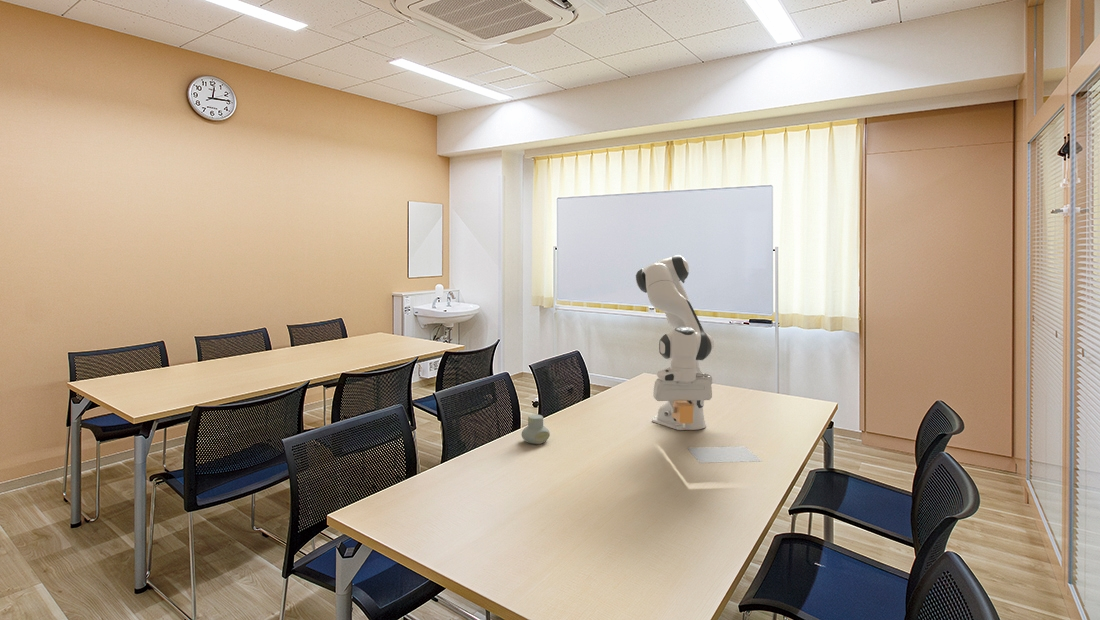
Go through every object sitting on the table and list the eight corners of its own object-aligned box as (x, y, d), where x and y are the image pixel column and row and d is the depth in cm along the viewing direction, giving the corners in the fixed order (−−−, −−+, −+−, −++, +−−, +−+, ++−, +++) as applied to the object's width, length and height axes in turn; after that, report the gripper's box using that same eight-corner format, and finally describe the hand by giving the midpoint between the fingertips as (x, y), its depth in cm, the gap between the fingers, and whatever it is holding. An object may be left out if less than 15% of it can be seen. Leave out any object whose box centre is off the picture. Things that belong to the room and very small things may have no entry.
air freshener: (530, 447, 204) (529, 421, 203) (518, 441, 211) (517, 416, 210) (553, 441, 211) (553, 416, 209) (541, 435, 217) (541, 411, 216)
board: (699, 466, 187) (699, 462, 187) (686, 451, 201) (686, 447, 201) (761, 465, 188) (762, 461, 188) (744, 450, 202) (744, 446, 202)
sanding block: (692, 423, 187) (693, 406, 187) (679, 423, 187) (680, 406, 186) (684, 415, 196) (684, 399, 195) (672, 415, 196) (672, 399, 195)
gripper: (709, 371, 194) (707, 409, 195) (652, 372, 192) (651, 410, 194) (715, 375, 187) (714, 414, 189) (657, 376, 186) (656, 415, 187)
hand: (682, 412), depth 191 cm, fingers closed on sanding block, 4 cm apart
